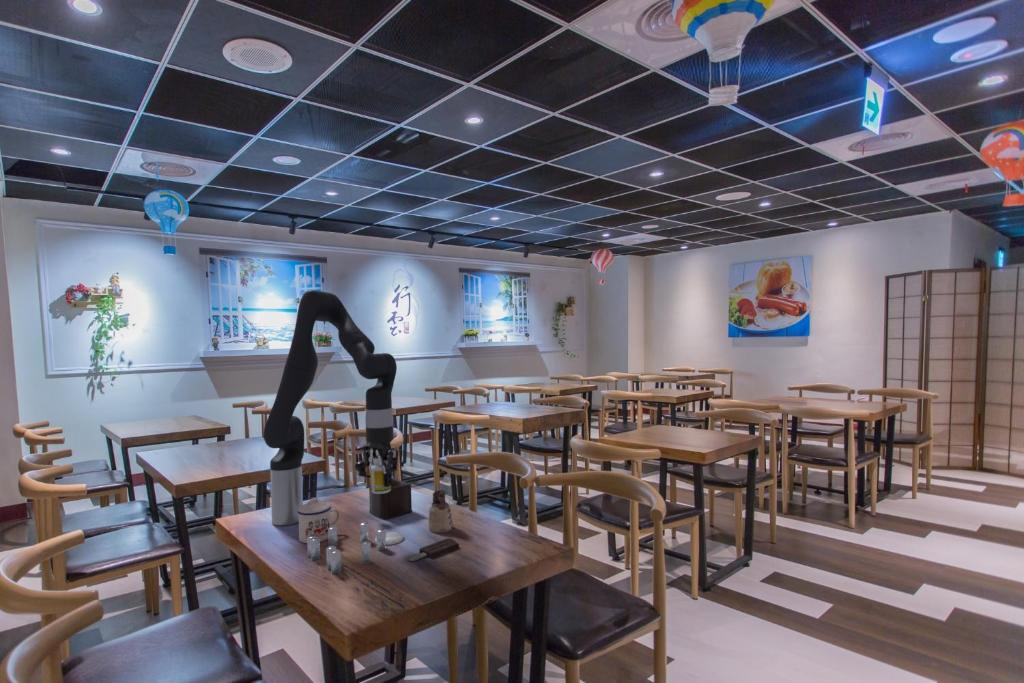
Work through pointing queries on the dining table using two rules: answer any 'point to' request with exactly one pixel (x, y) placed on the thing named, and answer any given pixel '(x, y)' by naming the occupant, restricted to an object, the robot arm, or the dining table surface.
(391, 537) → the saucer
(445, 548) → the ice cream bar
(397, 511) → the coffee grinder
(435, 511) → the figurine
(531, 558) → the dining table surface
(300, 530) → the teacup with lid
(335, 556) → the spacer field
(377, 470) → the supplement bottle
